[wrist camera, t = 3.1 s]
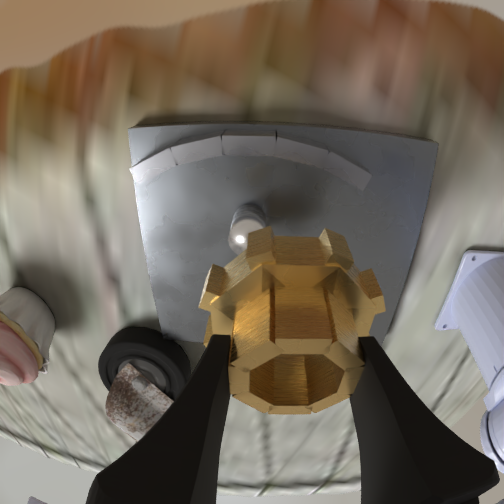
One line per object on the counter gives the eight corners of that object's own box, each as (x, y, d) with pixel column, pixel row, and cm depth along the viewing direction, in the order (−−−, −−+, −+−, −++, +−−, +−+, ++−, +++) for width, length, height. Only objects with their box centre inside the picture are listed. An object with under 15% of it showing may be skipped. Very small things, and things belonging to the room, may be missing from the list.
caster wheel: (151, 298, 28) (223, 370, 30) (84, 355, 30) (150, 413, 32) (127, 338, 21) (219, 418, 24) (58, 393, 23) (136, 456, 26)
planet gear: (387, 229, 12) (430, 302, 8) (352, 352, 16) (367, 424, 12) (201, 222, 12) (172, 298, 9) (213, 350, 16) (201, 424, 12)
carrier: (431, 139, 17) (460, 155, 14) (378, 337, 25) (388, 369, 22) (134, 125, 17) (108, 138, 14) (166, 330, 26) (155, 362, 23)
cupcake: (52, 353, 30) (17, 422, 22) (-7, 300, 27) (-53, 362, 18) (83, 321, 26) (38, 407, 18) (12, 255, 23) (-52, 328, 15)
